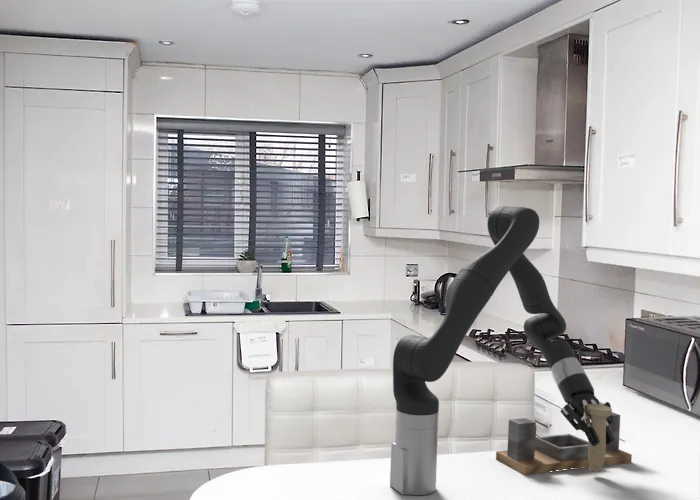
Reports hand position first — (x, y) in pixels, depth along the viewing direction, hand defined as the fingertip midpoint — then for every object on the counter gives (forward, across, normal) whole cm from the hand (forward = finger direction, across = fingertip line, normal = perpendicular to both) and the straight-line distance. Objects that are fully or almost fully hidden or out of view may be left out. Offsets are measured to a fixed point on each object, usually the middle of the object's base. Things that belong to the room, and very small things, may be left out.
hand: (603, 443), depth 171 cm
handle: (+4, 0, +6) cm, 7 cm away
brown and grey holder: (-4, 0, +16) cm, 16 cm away
